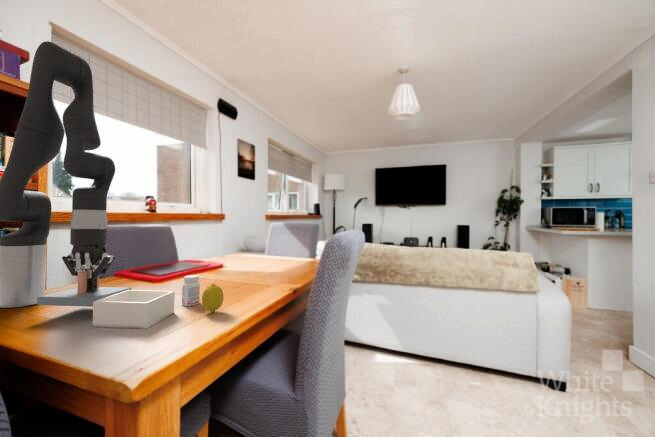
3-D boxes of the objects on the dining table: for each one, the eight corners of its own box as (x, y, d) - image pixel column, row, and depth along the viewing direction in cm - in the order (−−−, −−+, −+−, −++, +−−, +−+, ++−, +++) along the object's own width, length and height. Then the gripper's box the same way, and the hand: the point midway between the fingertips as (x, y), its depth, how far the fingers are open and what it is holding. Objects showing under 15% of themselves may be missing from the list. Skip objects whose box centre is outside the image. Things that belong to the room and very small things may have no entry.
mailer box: (92, 326, 65) (93, 301, 65) (128, 311, 76) (128, 289, 76) (145, 328, 65) (146, 303, 65) (174, 313, 76) (174, 291, 76)
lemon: (214, 308, 81) (215, 280, 81) (227, 311, 78) (228, 283, 78) (197, 313, 76) (197, 284, 76) (210, 317, 73) (210, 287, 73)
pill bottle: (202, 302, 86) (203, 275, 86) (193, 306, 82) (194, 278, 82) (188, 301, 87) (188, 274, 87) (178, 305, 82) (179, 277, 82)
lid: (37, 305, 68) (38, 274, 69) (83, 293, 81) (84, 267, 81) (93, 306, 68) (94, 275, 68) (131, 295, 80) (132, 268, 80)
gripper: (50, 227, 71) (49, 294, 71) (101, 227, 70) (100, 296, 70) (78, 226, 78) (77, 287, 78) (124, 227, 78) (123, 288, 78)
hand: (88, 291), depth 74 cm, fingers closed on lid, 1 cm apart
